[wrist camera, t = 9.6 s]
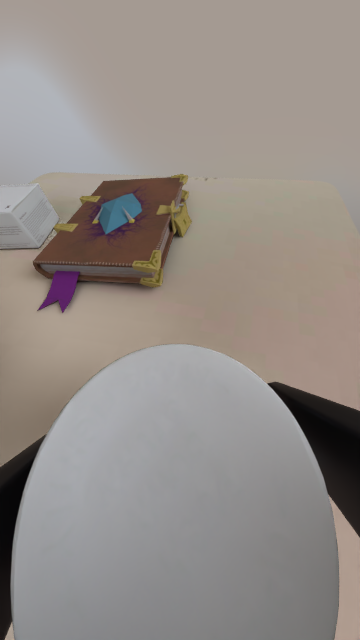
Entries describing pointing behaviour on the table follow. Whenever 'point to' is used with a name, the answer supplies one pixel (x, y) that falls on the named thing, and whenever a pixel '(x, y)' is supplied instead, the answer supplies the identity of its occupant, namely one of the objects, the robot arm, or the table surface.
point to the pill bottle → (175, 511)
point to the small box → (25, 216)
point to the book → (116, 236)
